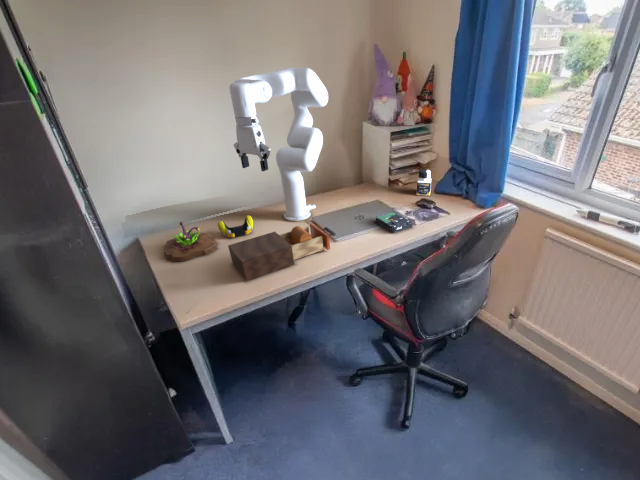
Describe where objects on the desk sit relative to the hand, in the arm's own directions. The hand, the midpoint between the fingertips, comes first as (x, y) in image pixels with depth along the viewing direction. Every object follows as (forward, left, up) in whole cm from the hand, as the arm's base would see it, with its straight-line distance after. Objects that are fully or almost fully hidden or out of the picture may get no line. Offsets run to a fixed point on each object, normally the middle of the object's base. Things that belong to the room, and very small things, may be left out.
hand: (255, 168), depth 147 cm
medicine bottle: (-86, +4, -29) cm, 91 cm away
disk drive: (-50, +23, -30) cm, 63 cm away
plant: (+30, -11, -30) cm, 43 cm away
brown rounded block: (-6, +20, -28) cm, 35 cm away
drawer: (-9, +20, -29) cm, 36 cm away
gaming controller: (+9, -13, -30) cm, 34 cm away
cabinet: (+11, +20, -30) cm, 37 cm away
